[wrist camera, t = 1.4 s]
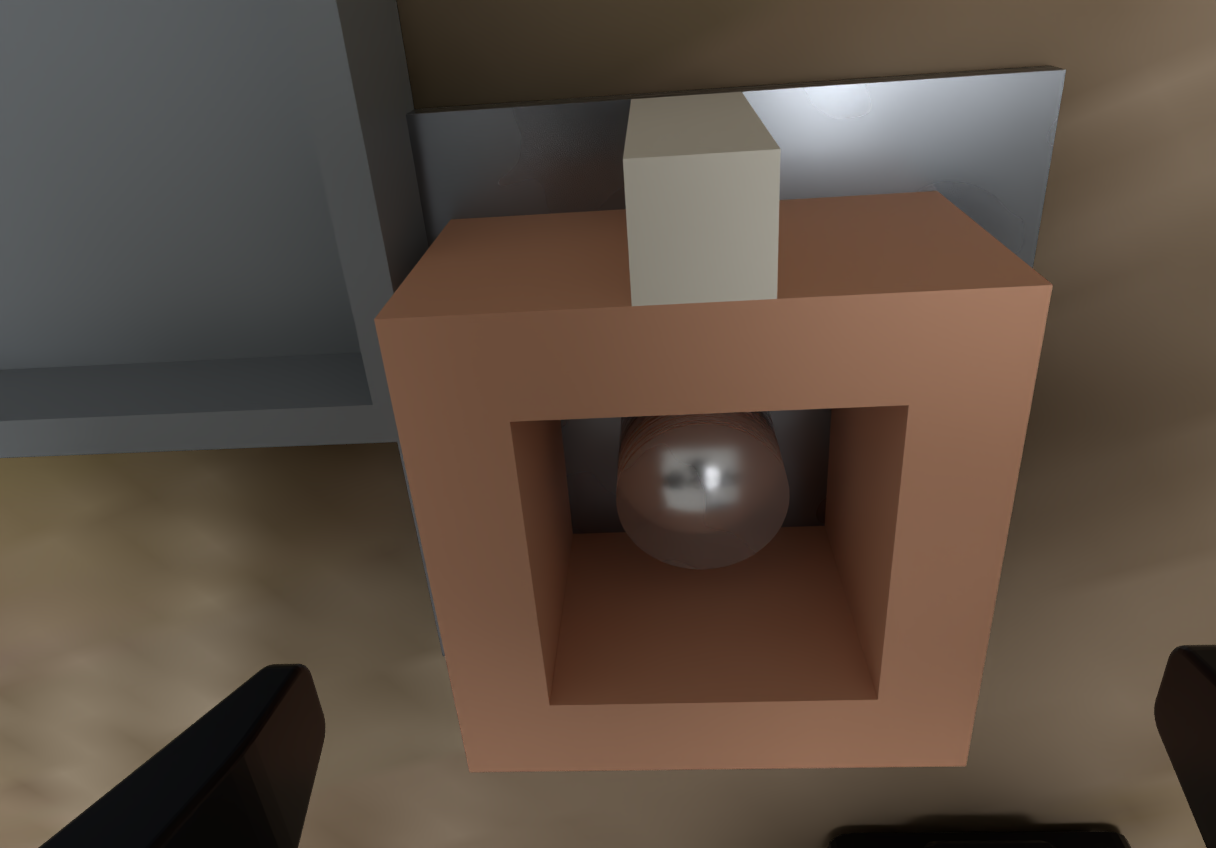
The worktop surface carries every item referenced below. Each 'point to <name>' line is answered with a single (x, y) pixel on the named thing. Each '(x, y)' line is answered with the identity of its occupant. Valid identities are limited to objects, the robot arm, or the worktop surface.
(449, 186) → the grey lid with knob
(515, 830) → the worktop surface
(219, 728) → the robot arm
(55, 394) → the tray
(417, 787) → the worktop surface
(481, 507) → the brown square frame
